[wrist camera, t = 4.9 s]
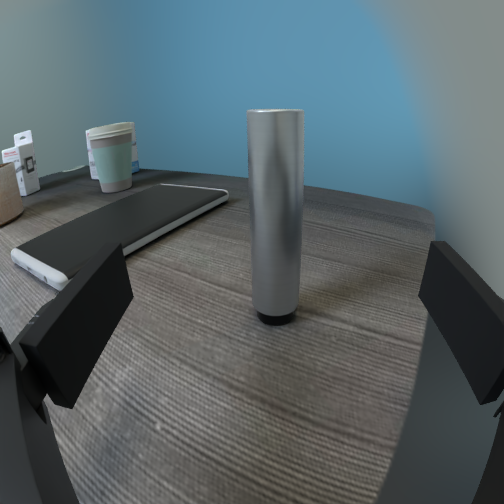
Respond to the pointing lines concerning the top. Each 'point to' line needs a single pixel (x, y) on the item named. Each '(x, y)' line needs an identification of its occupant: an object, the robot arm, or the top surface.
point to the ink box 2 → (134, 154)
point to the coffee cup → (113, 155)
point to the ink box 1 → (23, 163)
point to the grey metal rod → (275, 210)
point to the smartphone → (113, 229)
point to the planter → (9, 194)
